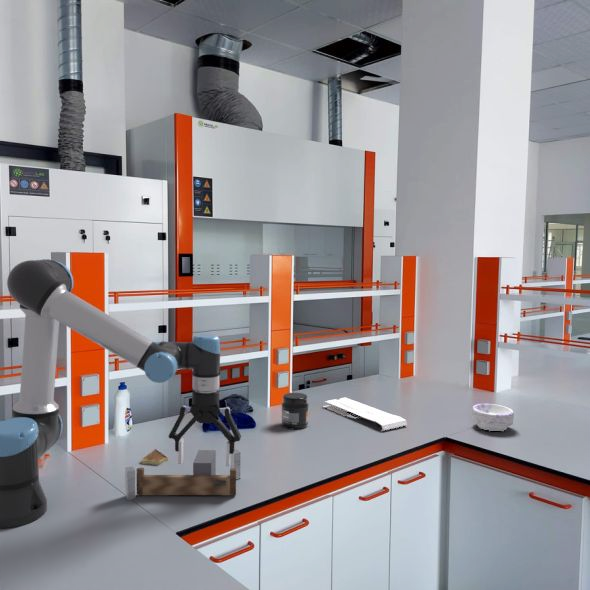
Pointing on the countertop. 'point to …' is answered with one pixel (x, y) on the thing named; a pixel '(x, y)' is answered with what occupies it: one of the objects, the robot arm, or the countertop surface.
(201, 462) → the rubber block
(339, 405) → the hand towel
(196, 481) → the gate
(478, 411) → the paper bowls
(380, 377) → the countertop surface
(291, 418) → the supplement container
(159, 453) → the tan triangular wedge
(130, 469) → the grey blocks
